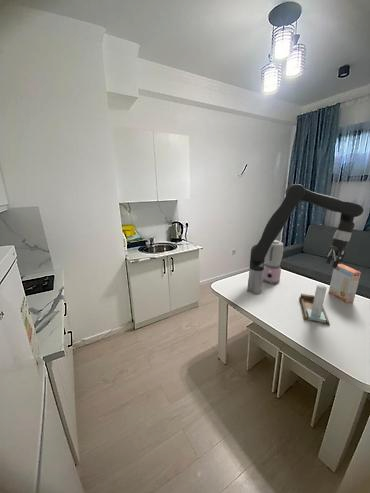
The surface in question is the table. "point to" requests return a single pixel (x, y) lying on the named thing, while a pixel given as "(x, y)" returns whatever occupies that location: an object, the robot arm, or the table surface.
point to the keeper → (318, 305)
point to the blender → (273, 263)
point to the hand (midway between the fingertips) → (330, 265)
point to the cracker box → (344, 283)
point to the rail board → (310, 307)
